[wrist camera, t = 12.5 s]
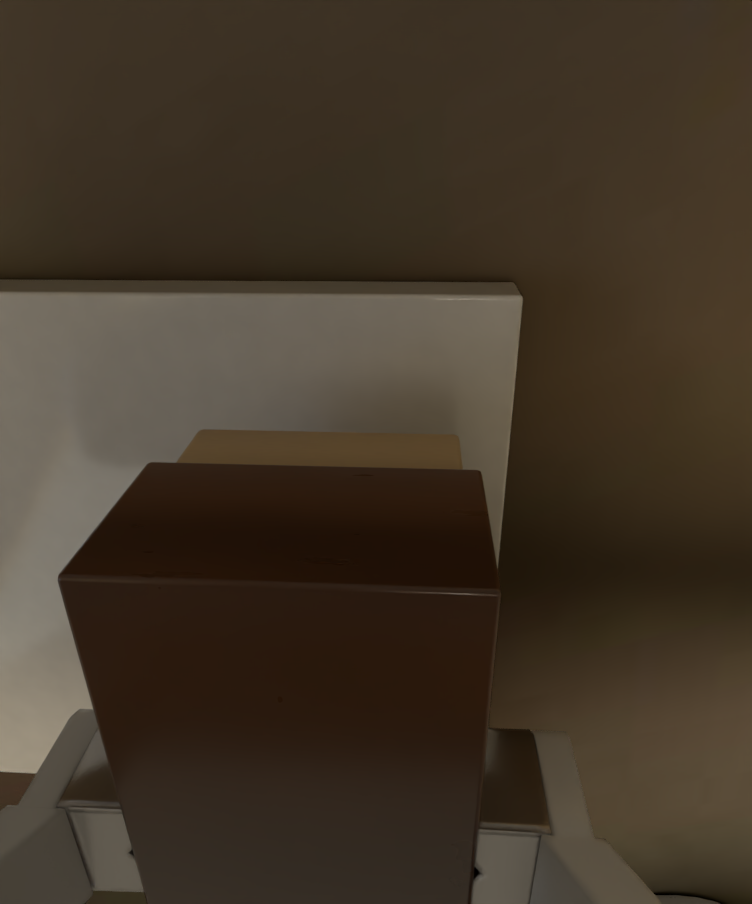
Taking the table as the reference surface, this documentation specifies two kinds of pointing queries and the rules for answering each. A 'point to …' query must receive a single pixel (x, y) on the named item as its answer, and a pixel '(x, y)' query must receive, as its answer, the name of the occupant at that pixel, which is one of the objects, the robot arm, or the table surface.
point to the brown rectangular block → (295, 666)
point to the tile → (208, 418)
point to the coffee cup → (683, 900)
